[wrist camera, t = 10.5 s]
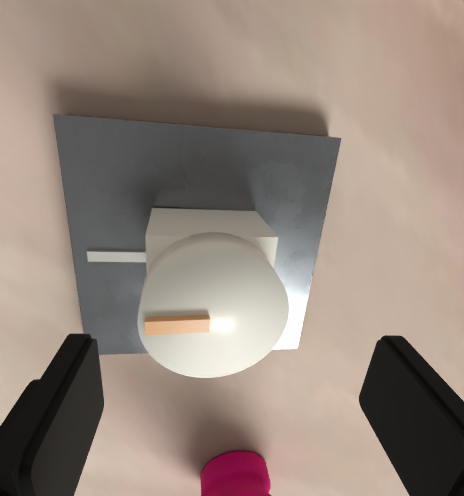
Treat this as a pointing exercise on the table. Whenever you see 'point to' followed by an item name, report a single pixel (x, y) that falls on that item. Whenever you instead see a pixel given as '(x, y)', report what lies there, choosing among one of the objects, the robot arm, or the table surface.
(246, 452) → the pepper mill
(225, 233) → the knob
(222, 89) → the table surface
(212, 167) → the grey thin square slab
